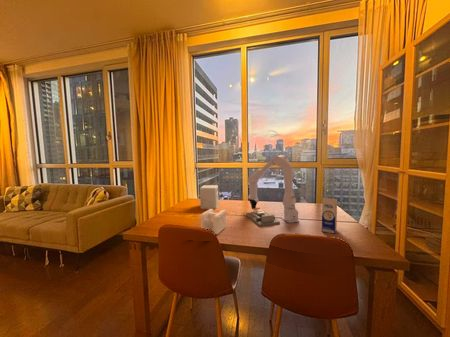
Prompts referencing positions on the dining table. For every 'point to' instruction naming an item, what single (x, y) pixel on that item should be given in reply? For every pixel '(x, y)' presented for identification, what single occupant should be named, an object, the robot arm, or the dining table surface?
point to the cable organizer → (214, 220)
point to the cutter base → (263, 219)
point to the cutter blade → (258, 211)
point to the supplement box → (209, 197)
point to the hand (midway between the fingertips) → (253, 209)
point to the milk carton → (329, 215)
